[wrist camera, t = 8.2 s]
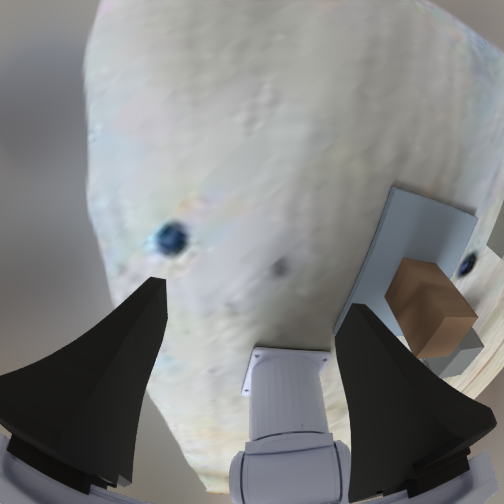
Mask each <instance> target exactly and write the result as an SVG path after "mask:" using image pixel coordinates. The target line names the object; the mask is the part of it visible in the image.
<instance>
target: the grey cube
mask: <svg viewBox="0 0 504 504" xmlns="http://www.w3.org/2000/svg"><path fill="white" fill-rule="evenodd" d="M483 348H484V345H483V343H482V342H481V340H480V339H479V337H478V335H477V334H476V332H475V331H474V329H473V328H472V327H471V328H470V330H469V331H468V332H467V334H466V335H465V336H464V338H463V339H462V340H461V342H460V343H459V344H458V346H457V347H456V348H455V349H454V351H453V352H452V353H451V354H450V355H449V356H441V357H432V358H426V360H427V362H428V364H429V366H430V369H431V371H432V372H433V373H434V374H436V375H437V376H438V377H439V378H441V379H442V378H447V377H452V376H456V375H461V374H462V373H463V371H464V370H465V369H466V368H467V367H468V366H469V365H470V364H471V362H472V361H473V360H474V359H475V358H476V357H477V355H478V354H479V353H480V352H481V350H482V349H483Z"/></svg>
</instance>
